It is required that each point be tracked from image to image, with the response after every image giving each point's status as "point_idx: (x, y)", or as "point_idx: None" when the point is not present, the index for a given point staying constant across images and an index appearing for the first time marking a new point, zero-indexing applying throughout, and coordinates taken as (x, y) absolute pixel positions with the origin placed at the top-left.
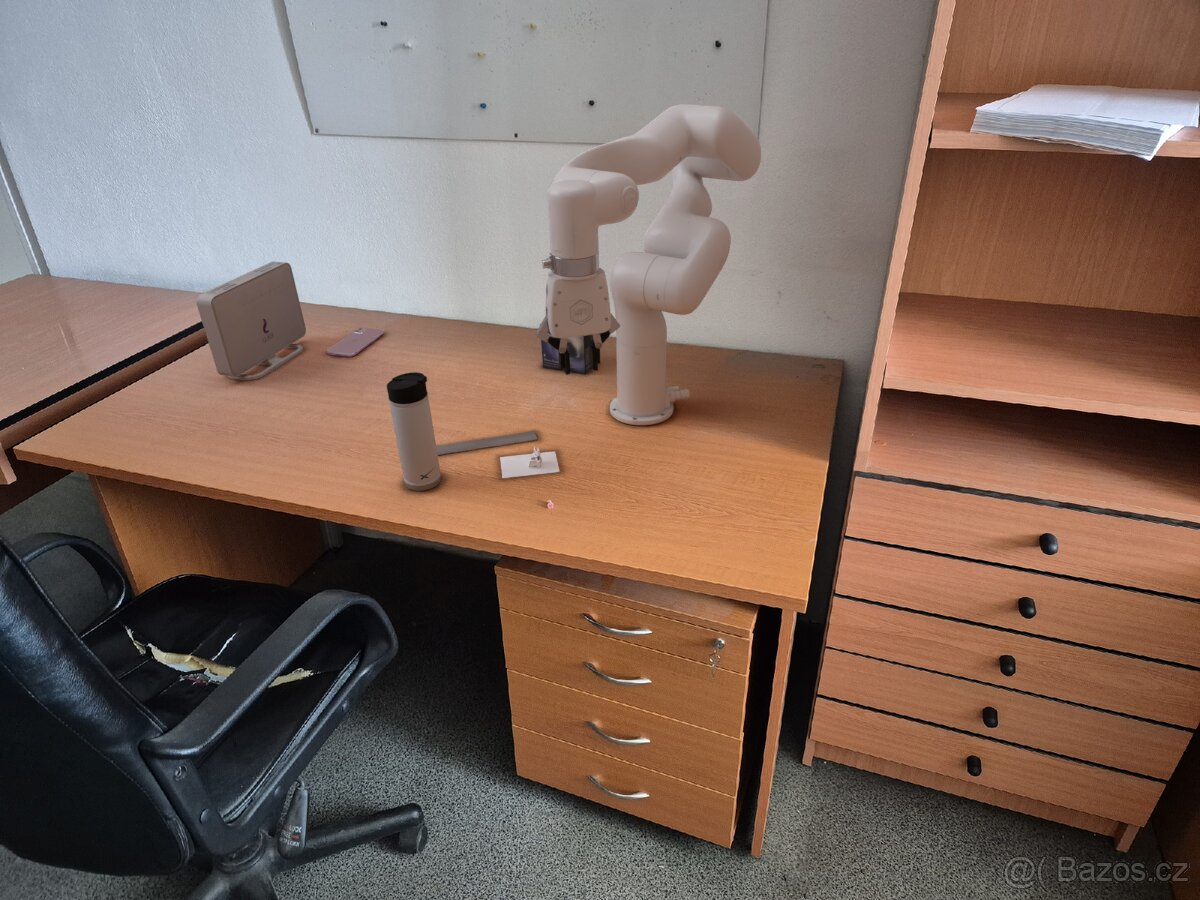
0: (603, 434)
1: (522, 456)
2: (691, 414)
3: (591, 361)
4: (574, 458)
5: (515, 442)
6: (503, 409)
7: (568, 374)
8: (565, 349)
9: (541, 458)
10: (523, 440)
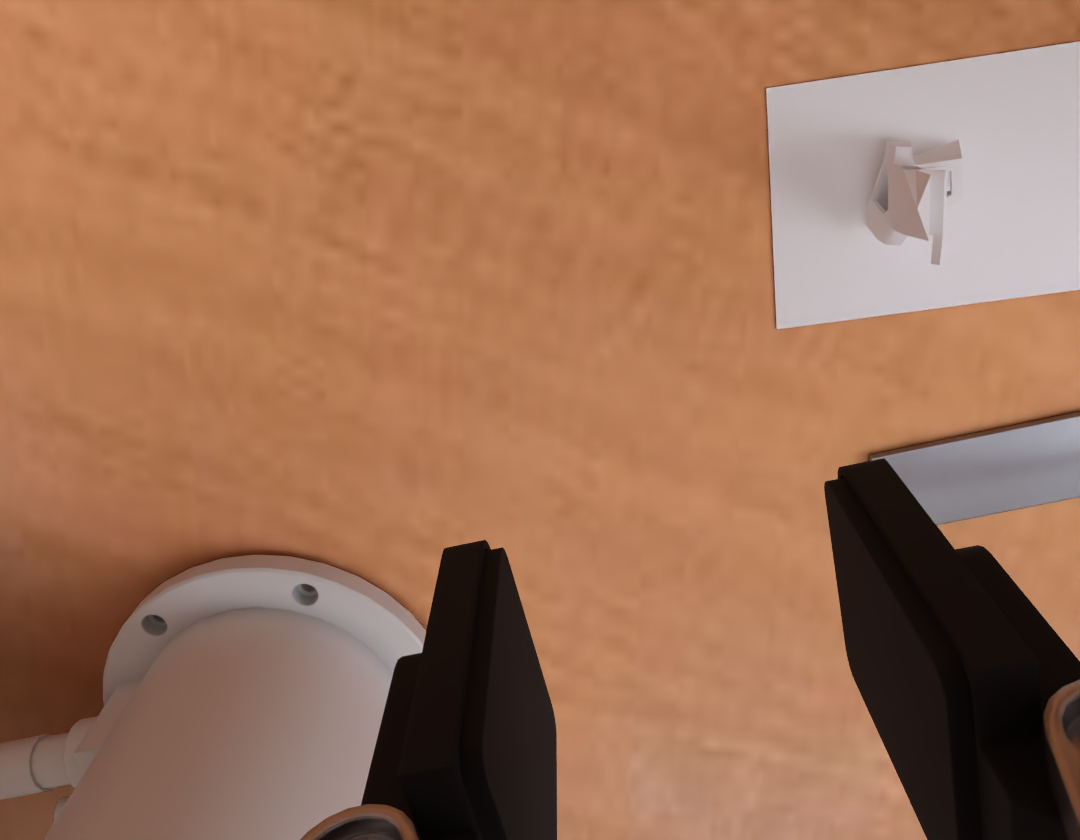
0: (489, 487)
1: (976, 283)
2: (16, 645)
3: (522, 679)
4: (664, 243)
5: (1000, 431)
6: None
7: (851, 466)
8: (1068, 743)
9: (873, 225)
10: (952, 446)
